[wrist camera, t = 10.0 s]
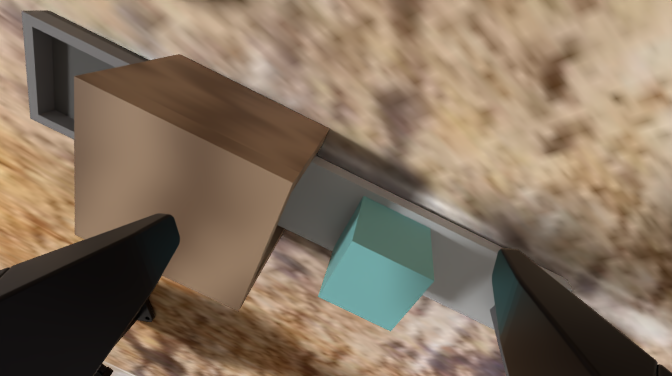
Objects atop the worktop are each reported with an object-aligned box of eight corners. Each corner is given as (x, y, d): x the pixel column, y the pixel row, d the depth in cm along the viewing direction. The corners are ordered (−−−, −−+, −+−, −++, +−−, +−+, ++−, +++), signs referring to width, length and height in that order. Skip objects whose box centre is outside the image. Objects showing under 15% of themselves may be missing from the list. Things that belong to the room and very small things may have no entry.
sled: (262, 207, 24) (215, 271, 18) (287, 141, 21) (241, 192, 15) (509, 327, 24) (539, 424, 19) (566, 279, 22) (621, 376, 16)
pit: (52, 112, 24) (30, 118, 22) (48, 10, 20) (21, 10, 19) (142, 155, 24) (125, 164, 23) (153, 62, 21) (134, 66, 19)
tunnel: (159, 177, 25) (75, 234, 19) (179, 54, 20) (73, 76, 14) (281, 235, 25) (238, 311, 19) (329, 128, 20) (292, 183, 14)
